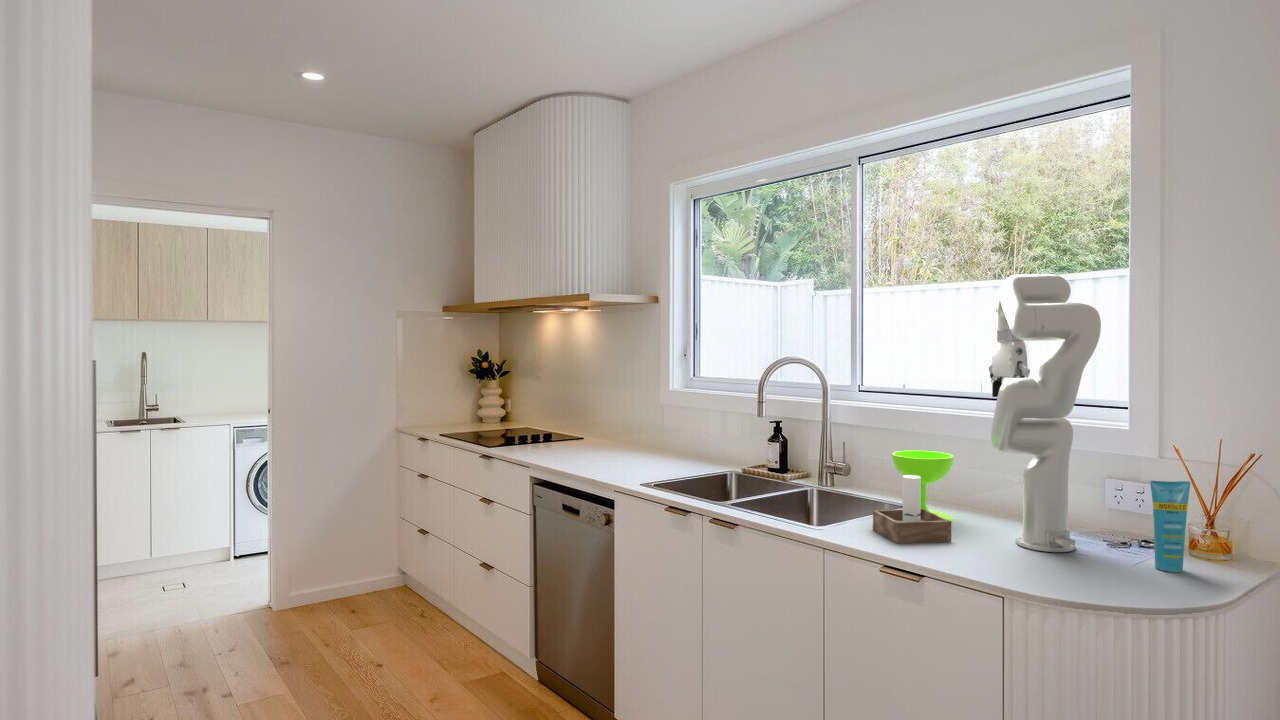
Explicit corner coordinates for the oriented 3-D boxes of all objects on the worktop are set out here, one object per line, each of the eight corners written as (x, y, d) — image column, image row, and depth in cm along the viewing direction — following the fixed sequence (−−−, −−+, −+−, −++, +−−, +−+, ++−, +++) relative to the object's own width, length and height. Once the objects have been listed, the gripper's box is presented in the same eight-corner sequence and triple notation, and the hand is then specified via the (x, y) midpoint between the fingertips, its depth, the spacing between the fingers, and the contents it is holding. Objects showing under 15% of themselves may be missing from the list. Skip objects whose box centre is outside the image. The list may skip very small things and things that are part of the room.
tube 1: (899, 533, 192) (899, 475, 192) (915, 533, 193) (915, 475, 192) (907, 537, 188) (907, 478, 188) (923, 537, 189) (923, 478, 188)
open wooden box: (951, 541, 184) (951, 521, 184) (897, 543, 183) (897, 523, 183) (923, 527, 198) (923, 508, 198) (873, 529, 197) (873, 510, 197)
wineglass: (880, 514, 214) (880, 452, 214) (928, 511, 218) (928, 449, 218) (915, 527, 198) (915, 460, 198) (966, 523, 203) (966, 457, 202)
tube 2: (1156, 572, 159) (1156, 482, 158) (1144, 565, 164) (1145, 478, 163) (1194, 573, 158) (1195, 483, 157) (1181, 566, 162) (1182, 478, 162)
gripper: (1041, 337, 201) (1040, 400, 202) (1002, 337, 218) (1002, 395, 219) (1015, 337, 200) (1014, 400, 201) (978, 337, 218) (978, 396, 218)
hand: (1008, 398), depth 210 cm, fingers open, 9 cm apart
